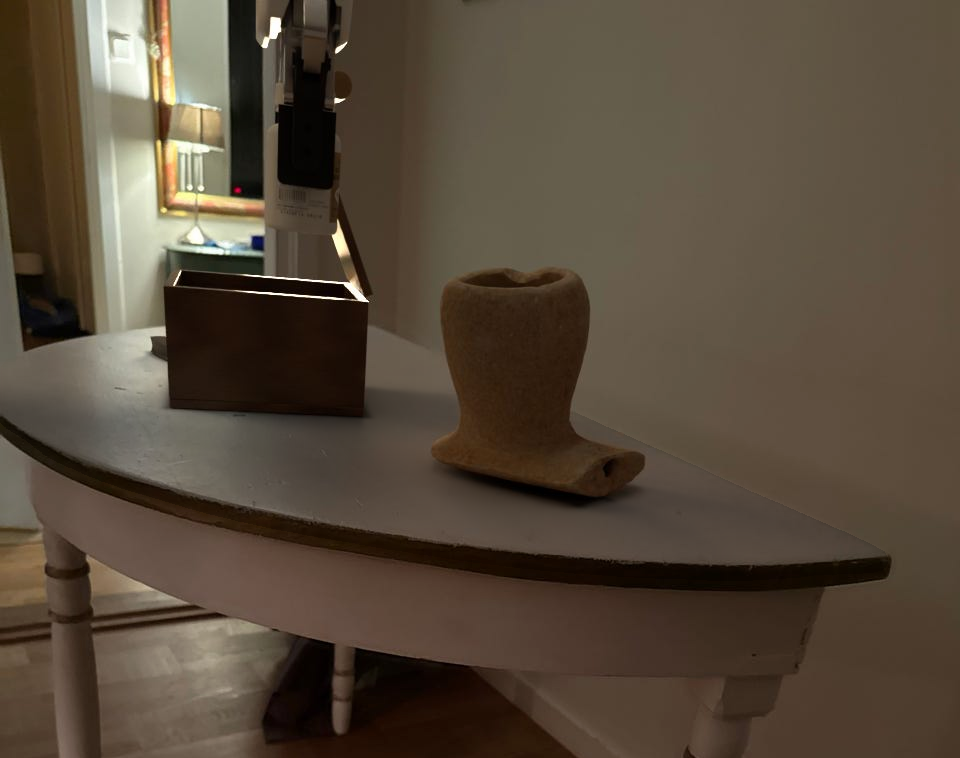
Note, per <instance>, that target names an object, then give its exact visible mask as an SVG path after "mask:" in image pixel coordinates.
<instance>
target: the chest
mask: <svg viewBox="0 0 960 758" xmlns="http://www.w3.org/2000/svg"><path fill="white" fill-rule="evenodd" d="M162 288H163V308H164V327H165V337H166V348H167V360H166V364H167V384H168V385H167V386H168V401H169V402H168V403H169V404H168V405H169V408H170V409H190V410H209V411H210V410H212V411H234V412H235V411H236V412H253V413H254V412H255V413H276V414H299V415H321V416H322V415H324V416H344V417H345V416H346V417H364V415H365V396H366V395H365V394H366V377H367V376H366V375H367V374H366V373H367V351H368V349H367V348H368V329H369V328H368V327H369V326H368V325H369V306H370V301H368V300H367V299H366V297H364V296H363V295H362V294H361V293H360V292H359V291H358V290H357V289H356V288H355V287H354V286H353V285H352V284H351V283H350V282H340V281H339V282H338V281H328V280H327V281H326V280H316V279H315V280H313V279H301V278H290V277H277V276H266V275H265V276H264V275H252V274H242V273H229V272H218V271H206V270H205V271H204V270H193V269H181V268H172V270H171V272H170V274H169V276H168V278H167V279H166V281H165V283H164V285H163V287H162Z"/></svg>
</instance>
